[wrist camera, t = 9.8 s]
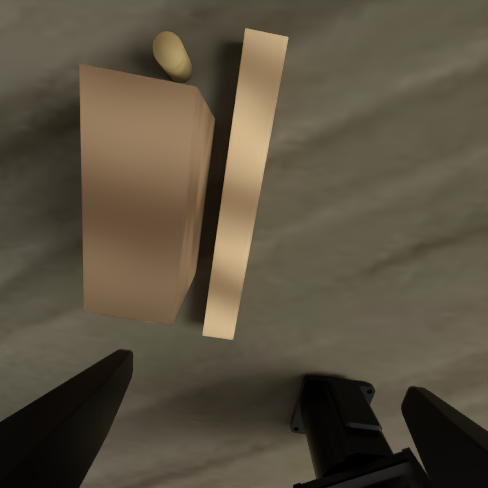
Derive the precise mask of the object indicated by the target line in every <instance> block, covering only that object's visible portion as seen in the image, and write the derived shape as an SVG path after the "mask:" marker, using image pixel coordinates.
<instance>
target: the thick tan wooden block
mask: <svg viewBox="0 0 488 488" xmlns="http://www.w3.org/2000/svg"><path fill="white" fill-rule="evenodd" d="M79 72H80V125H81V178H82V231H83V284H84V312H86V313H93V314H100V315H107V316H113V317H120V318H127V319H134V320H141V321H148V322H155V323H162V324H169V325H173V322H174V320H175V318H176V316H177V314H178V311H179V309H180V307H181V305H182V303H183V300H184V298H185V296H186V294H187V291H188V289H189V287H190V285H191V283H192V280H193V278H194V276H195V274H196V271H197V263H198V255H199V247H200V239H201V231H202V223H203V215H204V207H205V199H206V191H207V183H208V176H209V168H210V160H211V152H212V144H213V136H214V128H215V118H214V116H213V115H212V113H211V111H210V109H209V107H208V106H207V104H206V102H205V100H204V99H203V97H202V95H201V93H200V91H199V90H198V88H197V87H196V86H191V85H186V84H181V83H176V82H171V81H166V80H161V79H156V78H151V77H145V76H140V75H135V74H130V73H125V72H120V71H115V70H110V69H105V68H100V67H95V66H89V65H84V64H79Z"/></svg>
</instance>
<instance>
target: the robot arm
mask: <svg viewBox="0 0 488 488" xmlns="http://www.w3.org/2000/svg"><path fill="white" fill-rule="evenodd" d="M132 373H133V352H132V351H131V350H124V349H119V350H117V351H115V352H113V353H112V354H110V355H109V356H107V357H105V358H104V359H102V360H100V361H99V362H97V363H95V364H94V365H92V366H91V367H89V368H87V369H86V370H84V371H82V372H81V373H79V374H78V375H76V376H74V377H73V378H71V379H69V380H68V381H66V382H64V383H63V384H61V385H60V386H58V387H56V388H55V389H53V390H51V391H50V392H48V393H47V394H45V395H43V396H42V397H40V398H38V399H37V400H35V401H33V402H32V403H30V404H29V405H27V406H25V407H24V408H22V409H20V410H19V411H17V412H15V413H14V414H12V415H11V416H9V417H7V418H6V419H4V420H2V421H1V422H0V488H79V487H80V485H81V483H82V482H83V480H84V478H85V476H86V474H87V472H88V470H89V468H90V467H91V465H92V463H93V461H94V459H95V457H96V455H97V454H98V452H99V450H100V448H101V446H102V444H103V442H104V440H105V438H106V436H107V434H108V432H109V430H110V428H111V425H112V423H113V421H114V418H115V416H116V414H117V411H118V409H119V407H120V404H121V402H122V399H123V397H124V395H125V392H126V390H127V388H128V385H129V383H130V380H131V377H132ZM310 381H311V382H310ZM374 393H375V389H374V387H373V385H372V384H369V383H362V382H354V381H347V380H339V379H332V378H324V377H317V376H306V377H305V378H304V380H303V383H302V387H301V390H300V393H299V397H298V400H297V403H296V407H295V410H294V413H293V417H292V420H291V423H290V427H291V431H292V432H294V433H302V434H306V437H307V442H308V446H309V450H310V454H311V458H312V463H313V467H314V471H315V475H316V479H315V480H312V481H309V482H306V483H303V484H301V483H297V484H294V485H293V488H488V431H487V430H485V429H484V428H482V427H481V426H479V425H478V424H476V423H475V422H473V421H472V420H471V419H469V418H468V417H466V416H465V415H463V414H462V413H460V412H459V411H457V410H456V409H455V408H453V407H452V406H450V405H449V404H447V403H446V402H444V401H443V400H441V399H440V398H438V397H437V396H436V395H434V394H433V393H431V392H430V391H428V390H427V389H425V388H423V387H416V386H411V387H409V388H408V390H407V392H406V395H405V397H404V400H403V402H402V405H401V410H402V414H403V417H404V419H405V422H406V424H407V426H408V429H409V431H410V434H411V436H412V439H413V441H414V443H415V446H416V448H417V451H418V453H419V456H420V458H421V461H422V463H423V465H424V467H425V470H426V472H427V474H428V476H429V477H428V476H427V474H426V473H425V471H424V470H423V468H422V466H421V465H420V463H419V462H418V460H417V459H416V457H415V456H414V454H413V453H412V451H411V450H410V448H409V447H408V448H405V449H402V452H399V453H396V454H393V452H392V450H391V448H390V446H389V444H388V442H387V441H386V439H385V437H384V435H383V433H382V431H381V430H382V427H381V425H380V423H379V421H378V420H377V418H376V416H375V414H374V412H373V410H372V408H371V407H370V403H371V401H372V398H373V396H374ZM429 478H430V479H429Z"/></svg>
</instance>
